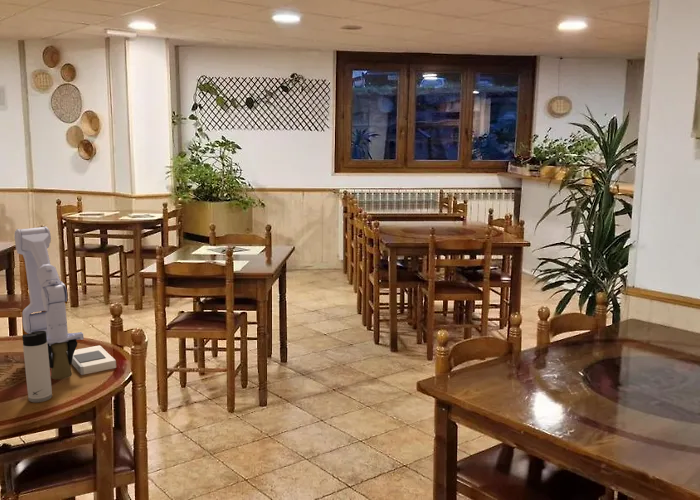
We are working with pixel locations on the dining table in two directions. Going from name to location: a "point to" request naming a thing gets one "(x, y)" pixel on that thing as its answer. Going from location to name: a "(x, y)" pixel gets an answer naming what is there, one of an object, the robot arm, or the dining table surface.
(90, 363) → the dock board
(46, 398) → the travel mug
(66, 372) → the cork
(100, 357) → the mat
